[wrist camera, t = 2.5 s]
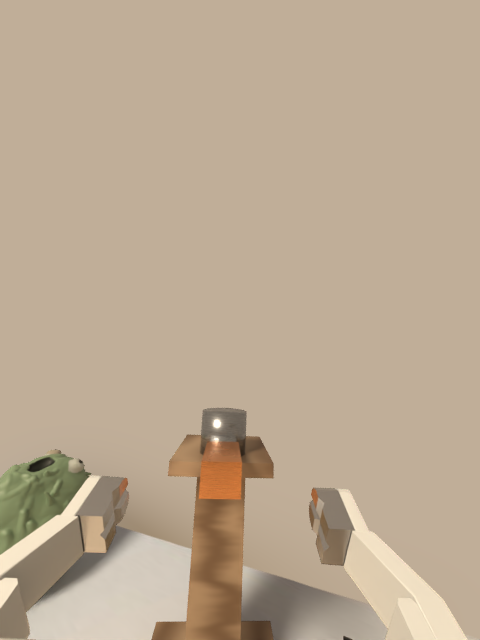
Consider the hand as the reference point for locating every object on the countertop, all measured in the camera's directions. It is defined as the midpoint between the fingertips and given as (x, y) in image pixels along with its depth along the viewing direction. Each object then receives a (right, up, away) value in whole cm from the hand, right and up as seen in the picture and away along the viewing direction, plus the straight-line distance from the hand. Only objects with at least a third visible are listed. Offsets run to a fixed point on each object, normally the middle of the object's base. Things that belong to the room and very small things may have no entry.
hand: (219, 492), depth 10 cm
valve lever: (-1, -9, +15) cm, 17 cm away
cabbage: (-37, -37, +27) cm, 59 cm away
